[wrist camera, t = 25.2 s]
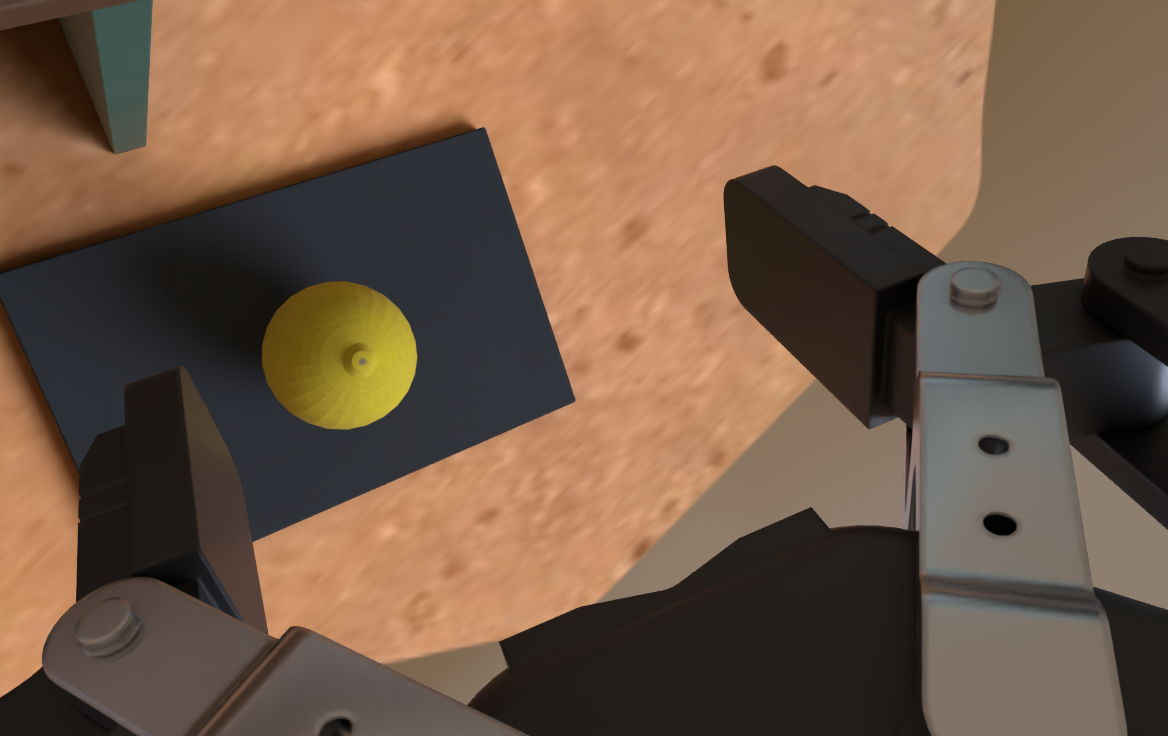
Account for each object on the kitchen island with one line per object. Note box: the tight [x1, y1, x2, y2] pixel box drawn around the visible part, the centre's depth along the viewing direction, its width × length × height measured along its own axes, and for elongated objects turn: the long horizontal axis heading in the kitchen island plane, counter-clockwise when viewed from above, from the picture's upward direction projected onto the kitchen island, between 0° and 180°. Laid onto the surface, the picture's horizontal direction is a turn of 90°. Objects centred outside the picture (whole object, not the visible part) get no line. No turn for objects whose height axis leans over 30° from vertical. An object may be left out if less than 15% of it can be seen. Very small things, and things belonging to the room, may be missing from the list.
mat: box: [0, 128, 575, 542], centre depth 40 cm, size 20×13×1 cm, turn 109°
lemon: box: [262, 281, 417, 429], centre depth 36 cm, size 6×6×8 cm
